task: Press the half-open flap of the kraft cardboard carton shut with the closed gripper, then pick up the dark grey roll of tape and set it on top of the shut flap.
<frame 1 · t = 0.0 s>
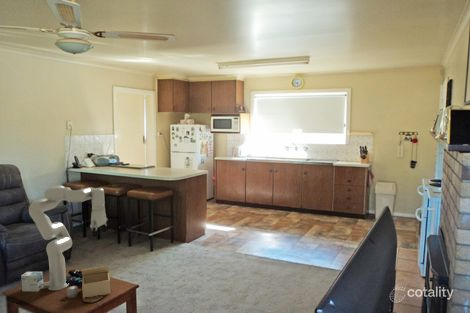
hand: (99, 234, 229), 37 cm above the table, tool pointing down, fingers open, 9 cm apart
light bulb box: (33, 289, 236), on the table
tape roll: (72, 295, 226), on the table
carton: (96, 291, 231), on the table
carton flap: (95, 270, 232), point 13 cm above the table, hinge at 35.0°
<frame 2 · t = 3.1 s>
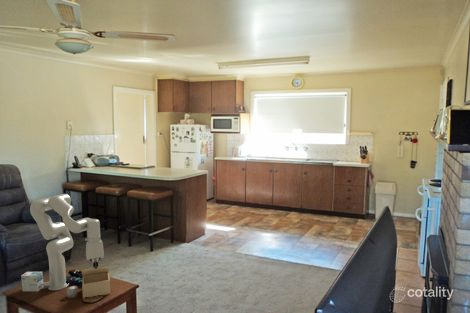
hand: (95, 267, 226), 17 cm above the table, tool pointing down, fingers closed
carton flap: (95, 271, 231), point 13 cm above the table, hinge at 32.6°, touching gripper
everything else where it was.
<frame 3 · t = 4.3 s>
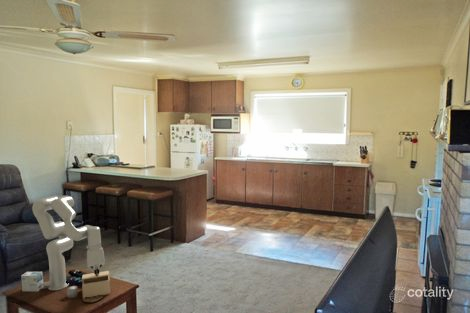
hand: (97, 275, 227), 12 cm above the table, tool pointing down, fingers closed
carton flap: (95, 275, 231), point 11 cm above the table, hinge at 12.5°, touching carton, gripper
everything else where it was.
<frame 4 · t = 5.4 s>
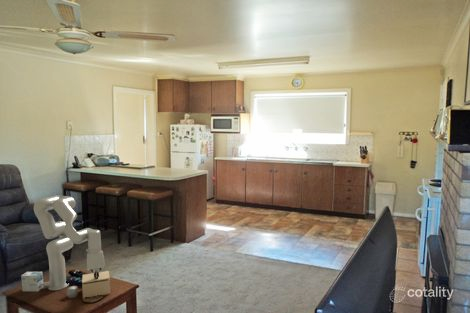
hand: (96, 278, 227), 10 cm above the table, tool pointing down, fingers closed
carton flap: (95, 276, 231), point 10 cm above the table, hinge at 3.3°, touching carton, gripper
everything else where it was.
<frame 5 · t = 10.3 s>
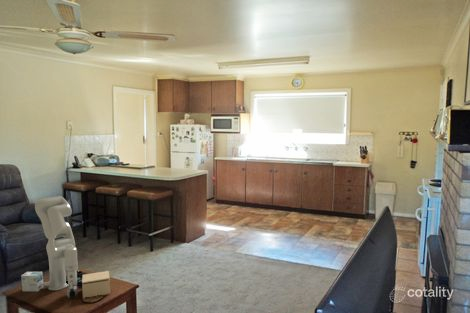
hand: (72, 294, 226), 1 cm above the table, tool pointing down, fingers closed on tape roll, 6 cm apart
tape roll: (72, 295, 226), on the table, touching gripper
carton flap: (95, 276, 231), point 10 cm above the table, hinge at 3.2°
everything else where it was.
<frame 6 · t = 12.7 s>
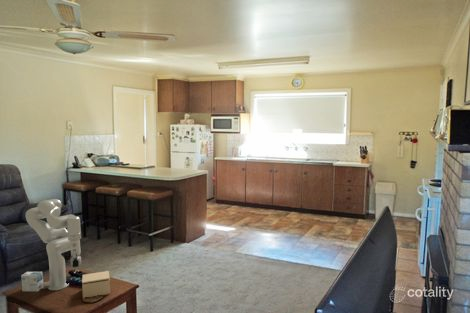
hand: (76, 264, 225), 20 cm above the table, tool pointing down, fingers closed on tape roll, 6 cm apart
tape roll: (76, 265, 225), point 19 cm above the table, touching gripper
everything else where it was.
when the fingers open (12 cm above the table, at t = 15.3 s): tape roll drops 1 cm, resting on carton flap.
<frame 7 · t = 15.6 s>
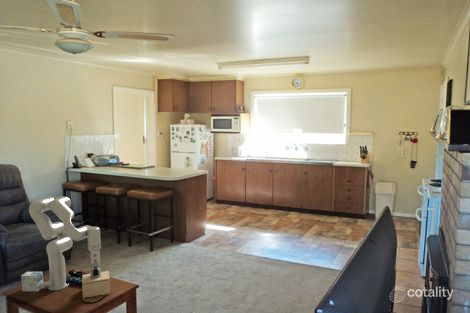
hand: (95, 272, 230), 12 cm above the table, tool pointing down, fingers open, 9 cm apart
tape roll: (95, 276, 231), point 10 cm above the table, touching carton flap
carton flap: (96, 277, 231), point 10 cm above the table, hinge at 2.1°, touching carton, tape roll
everything else where it was.
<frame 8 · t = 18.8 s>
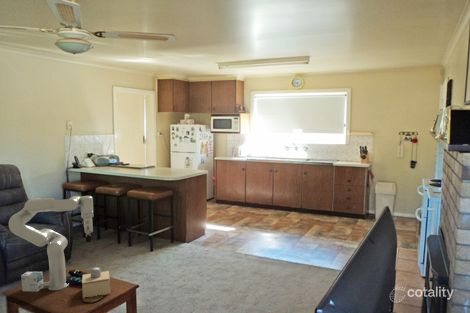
hand: (88, 239, 240), 30 cm above the table, tool pointing down, fingers open, 9 cm apart
carton flap: (96, 277, 231), point 10 cm above the table, hinge at 2.1°, touching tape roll
everything else where it was.
at the end: carton flap at +2° (first picture: +35°); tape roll inside the target area on the carton (0.1 cm from its centre), point 10.0 cm above the carton's base; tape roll tilted 2° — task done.
